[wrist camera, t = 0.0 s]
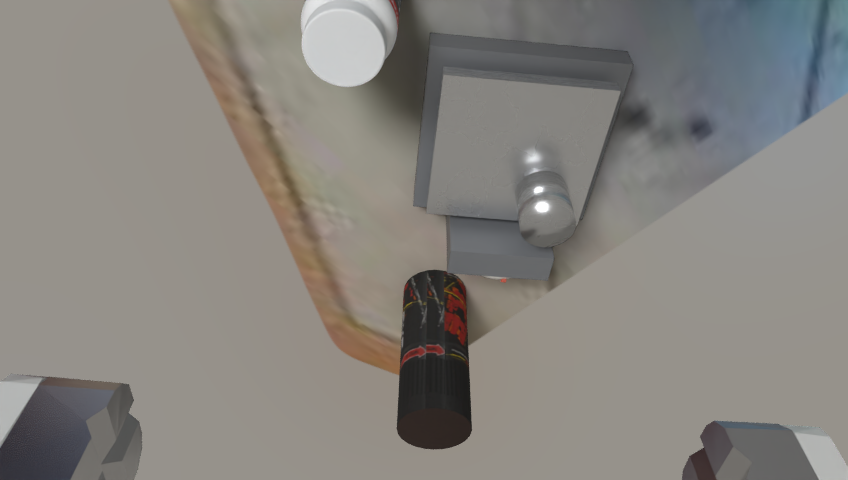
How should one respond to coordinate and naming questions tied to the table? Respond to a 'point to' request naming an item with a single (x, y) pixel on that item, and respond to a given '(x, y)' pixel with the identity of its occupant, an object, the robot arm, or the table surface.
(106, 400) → the robot arm
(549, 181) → the spacer
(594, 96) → the scale plate
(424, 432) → the deodorant
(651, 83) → the table surface
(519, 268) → the base
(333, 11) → the pill bottle
